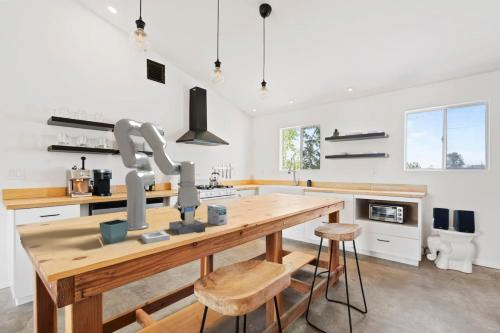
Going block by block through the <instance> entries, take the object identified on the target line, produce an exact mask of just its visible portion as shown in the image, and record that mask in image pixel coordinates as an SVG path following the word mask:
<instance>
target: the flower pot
mask: <svg viewBox="0 0 500 333" xmlns="http://www.w3.org/2000/svg"><path fill="white" fill-rule="evenodd" d="M98 225H99V231H100V235H101V237H102V239H103V241H104V242H105V243H107V244H111V245H113V244H117V243H121V242H123V241H125V239H126V237H127V235H128V231H129V230H128V225H129V222H128V221H123V220H122V219H112V220H108V221H103V222H99V224H98Z"/></svg>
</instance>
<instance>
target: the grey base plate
mask: <svg viewBox="0 0 500 333" xmlns="http://www.w3.org/2000/svg"><path fill="white" fill-rule="evenodd" d="M170 238H171V235H170V234H169V233H167V232H165V231H164V230H158V231H151V232H145V233H144V232H143V233H140V239H141V240H142V241H143V242H144V243H145V244H148V245H149V244H152V243H158V242H159V243H160V242H165V241H169V240H170Z"/></svg>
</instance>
